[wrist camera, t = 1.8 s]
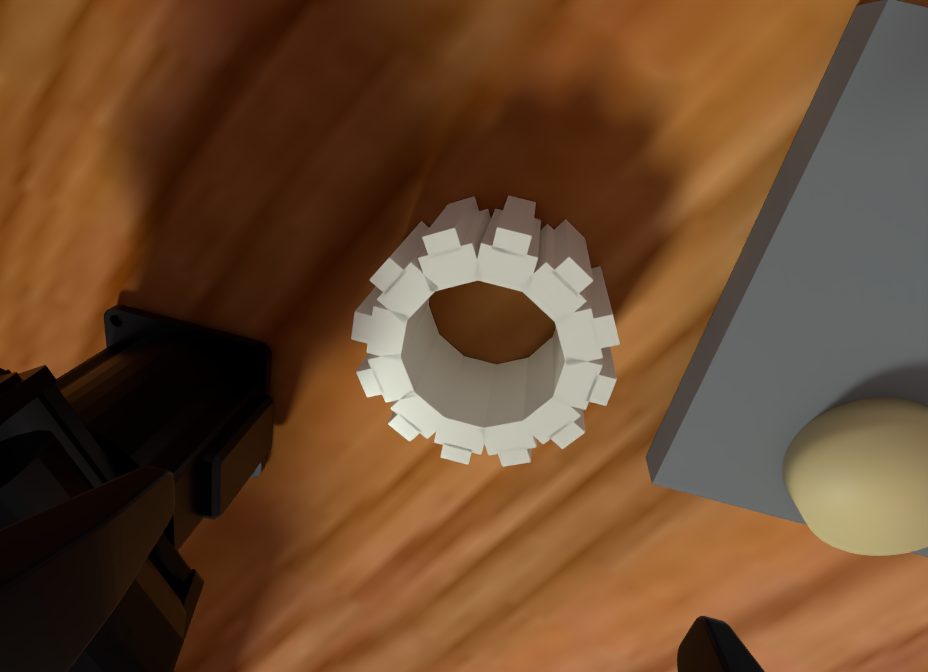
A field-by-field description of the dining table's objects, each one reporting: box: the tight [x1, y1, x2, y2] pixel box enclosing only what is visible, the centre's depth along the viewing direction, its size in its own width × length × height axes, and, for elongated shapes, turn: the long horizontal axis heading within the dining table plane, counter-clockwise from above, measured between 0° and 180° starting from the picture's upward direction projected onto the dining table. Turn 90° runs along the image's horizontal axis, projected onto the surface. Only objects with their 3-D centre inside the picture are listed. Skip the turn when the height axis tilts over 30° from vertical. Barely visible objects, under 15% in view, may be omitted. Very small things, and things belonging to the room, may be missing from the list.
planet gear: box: [351, 195, 620, 466], centre depth 17 cm, size 8×8×4 cm
